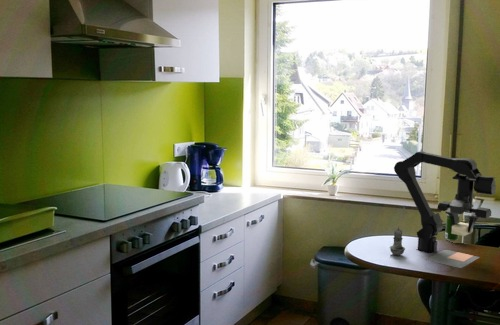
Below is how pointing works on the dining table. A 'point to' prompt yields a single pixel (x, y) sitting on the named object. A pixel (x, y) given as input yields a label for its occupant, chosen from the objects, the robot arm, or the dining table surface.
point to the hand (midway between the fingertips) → (462, 231)
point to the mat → (452, 258)
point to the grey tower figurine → (397, 243)
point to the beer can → (450, 229)
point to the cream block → (461, 229)
